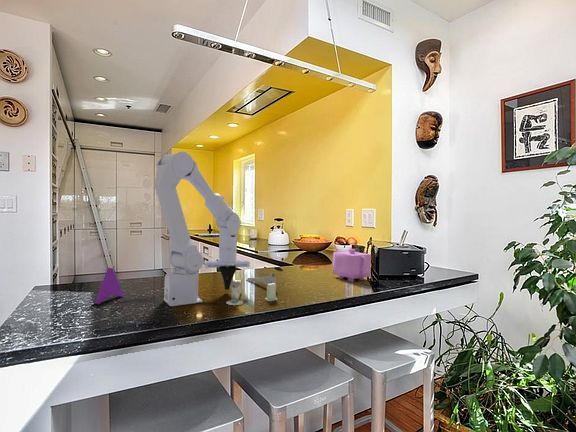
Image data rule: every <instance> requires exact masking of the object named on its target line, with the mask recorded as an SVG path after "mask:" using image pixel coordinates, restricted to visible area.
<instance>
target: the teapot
mask: <svg viewBox="0 0 576 432" xmlns="http://www.w3.org/2000/svg"><path fill="white" fill-rule="evenodd" d="M332 259H333V261H332V262H333V263H332V275H337V276H338V277H337V278H338V279H339V280H340V279H345V278H347V281H348V282H355V279H358V281H365V278H370V277H371V272H372V270H371V269H372V255H371V253H366V252H365V253H364V252H359V251H356V248H349V249H348V250H347V251H346V250H345V251H340V250H338V249H335V248H334V249H333V258H332Z"/></svg>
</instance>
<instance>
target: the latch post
mask: <svg viewBox="0 0 576 432" xmlns="http://www.w3.org/2000/svg"><path fill="white" fill-rule="evenodd" d="M276 293H277V283H276V284H275V283H271V284H266V297H265V298H264V300H265V301H267V302H274V301H277V300H278V298H277V295H276Z"/></svg>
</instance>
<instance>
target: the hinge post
mask: <svg viewBox="0 0 576 432" xmlns="http://www.w3.org/2000/svg"><path fill="white" fill-rule="evenodd" d="M230 287H231V299H229V300H227V301H226V302H225V303H226V305H227V304H228V305H227V306H230V305H233V307H235V305H239V306H241V305H243V304H244V301H243V300H241V299H239V300H238V292H239V282H238V281H235V280H233V281H231V284H230Z"/></svg>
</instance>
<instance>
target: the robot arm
mask: <svg viewBox="0 0 576 432" xmlns="http://www.w3.org/2000/svg"><path fill="white" fill-rule="evenodd" d="M155 166H156V168H157V169H156V173H155V178H154V189H155V193H156V196H157V198H158V202H159V205H160V209H161V211H162V215H163V218H164V221H165V224H166V225H165V226H166V229H167V232H168V235H169V238H170V241H171V244H170V246H169V253H170V255H169V262H170V263H169V264H170V265H171V266H172V268H173V272H169V273H165V276H164V283H163V284H164V286H163V287H164V288H163V289H164V290H163V291H164V293H163V295H164V296H163V297H164V298H163V301H164V302H165V303H166V304H167V305H168V306H169V307H177V306H184V305H185V306H186V305H191V304H198V303H203V300H202V299H201V298H200V297H199V273H200V270H201V269H202V267H203V264H204V268H205V269H209V268H210V269H211V268H218V270H219V271H220V274H221V277H222V281H223V284H224V290H227V291H228V290H230V287H231V283H232V280H233V278H234V276H235V273H236V272H237V268H245V267H246V268H250V266H251V265H250V264H251V263H250V262H251V261H250V260H237V253H238V252H237V251H238V250H237V249H238V248H237V247H238V243H237V242H238V233H239V228H240V226H241V224H242V220H241V219H240V217H239V214H237V213H236V212H233V209H232V208H231V207H230V205H228V204H227V202H226V201H225V200H224V199H225V197H224V196H223V195H221V194H219V193H215V192H214V190H213V188H212V187H211V186H210V185H209V183H208V182H207V179H205V177H204V175H203V174H202V172H201V171H200V169H199V166H198V162H196V160H194V159H193V157H192V155H191V154H190V153H188V152H186V151H182V150H181V151H177V152H175V153H169V154H164V155H162V156H161V157H160V159H159V160H158V161H157V163H156V165H155ZM181 180H185V181H188V182H189V183H190V184H191V185H192V186H193V187H194V188H195V189H196V191H197V192H198V193H199V194H200V195H201V196H202V197H203V199H204V206H205V207H206V208H207V210H208V211H209V212H210V213H211V215H212V216H213V217H214V219H215V225H216V226H217V227H218V228H219V234H218V235H219V239H218V240H219V241H218V243H219V244H218V246H219V247H218V260H208V261H205V260H204V257H203V255H202V253H201V252H200V251H199V249H198V246H197V244H196V243H195V242H194V241H193V240H192V239H191V236H190V233H189V229H188V225H187V222H186V218H185V216H184V215H185V214H184V212H183V207H182V204H181V201H180V197H179V195H178V191H177V186H178V185H179V183H180V182H181Z"/></svg>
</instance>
